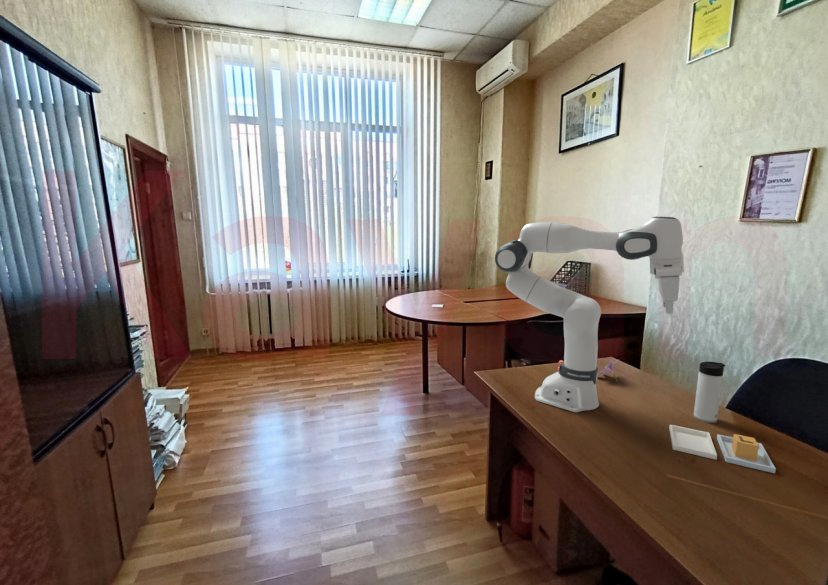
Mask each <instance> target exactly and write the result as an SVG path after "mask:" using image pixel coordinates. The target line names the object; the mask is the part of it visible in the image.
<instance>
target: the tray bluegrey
mask: <svg viewBox="0 0 828 585" xmlns="http://www.w3.org/2000/svg"><path fill="white" fill-rule="evenodd" d="M716 439H717V442H718V444H719V448H720V451H721V453H722V455H723V459H724V460H725V463H729V464H733V465H737V466H742V467H746V468H750V469H755V470H759V471H763V472H766V473H767V472H768V473H772V474H776V470H777V468H776V467H775V465H774V463H773V462H772V461H773V460H772V459H771V458H770V456H769V454H768V452H767V451H766V449H765V447H764V445H763V444H762V442H757V444H758V446H759V448H758V455H757V461H754V460H749V459H745V458H740V457H736V456H735V455H734V452H733V450H732V442H733V436H727V435H722V434H719V433H717V434H716Z"/></svg>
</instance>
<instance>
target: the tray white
mask: <svg viewBox="0 0 828 585" xmlns="http://www.w3.org/2000/svg"><path fill="white" fill-rule="evenodd" d="M668 430H669V434H670V440H671V446H672V450H673V451H678V452H682V453H687V454H691V455H694V456H695V455H696V456H699V457H703V458H707V459H712V460H715V461H717V460H718V453H717V451H716V448H715V446H714V442H713V440H712V437H711V434H710V432H709V431H702V430H698V429H695V428H689V427H684V426H679V425H674V424H669V429H668Z"/></svg>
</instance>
